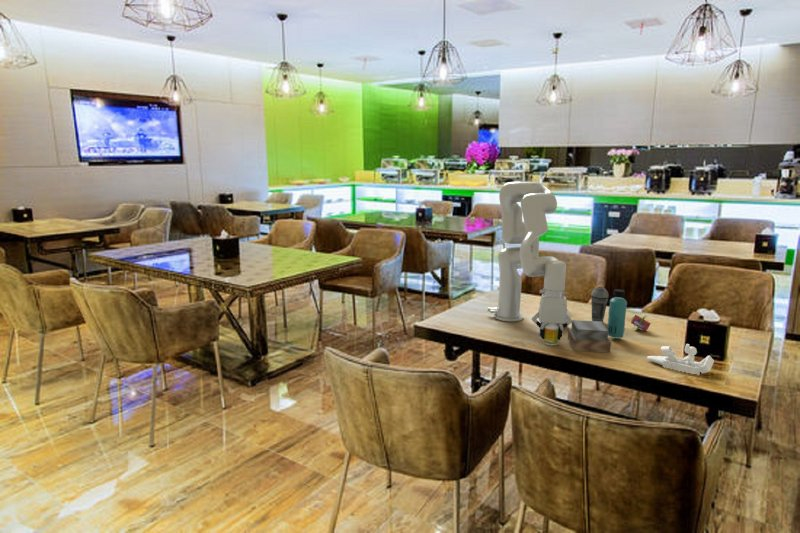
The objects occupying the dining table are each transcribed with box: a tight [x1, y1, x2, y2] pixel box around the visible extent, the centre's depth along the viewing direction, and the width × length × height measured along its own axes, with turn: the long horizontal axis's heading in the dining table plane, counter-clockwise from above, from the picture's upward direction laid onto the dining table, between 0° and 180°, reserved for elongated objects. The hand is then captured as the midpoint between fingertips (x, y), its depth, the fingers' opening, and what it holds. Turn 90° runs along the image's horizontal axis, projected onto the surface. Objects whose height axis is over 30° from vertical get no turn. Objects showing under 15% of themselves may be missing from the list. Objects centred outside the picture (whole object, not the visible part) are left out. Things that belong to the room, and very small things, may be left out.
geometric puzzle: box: [630, 314, 652, 333], centre depth 216 cm, size 7×7×8 cm
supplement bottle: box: [542, 323, 559, 346], centre depth 200 cm, size 5×5×10 cm
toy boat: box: [646, 343, 715, 376], centre depth 178 cm, size 11×20×9 cm, turn 53°
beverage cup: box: [590, 277, 610, 324], centre depth 225 cm, size 7×7×20 cm
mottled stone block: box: [567, 319, 612, 353], centre depth 199 cm, size 13×13×8 cm
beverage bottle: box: [606, 289, 628, 339], centre depth 205 cm, size 6×7×20 cm
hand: (550, 338), depth 201 cm, fingers closed on supplement bottle, 5 cm apart
